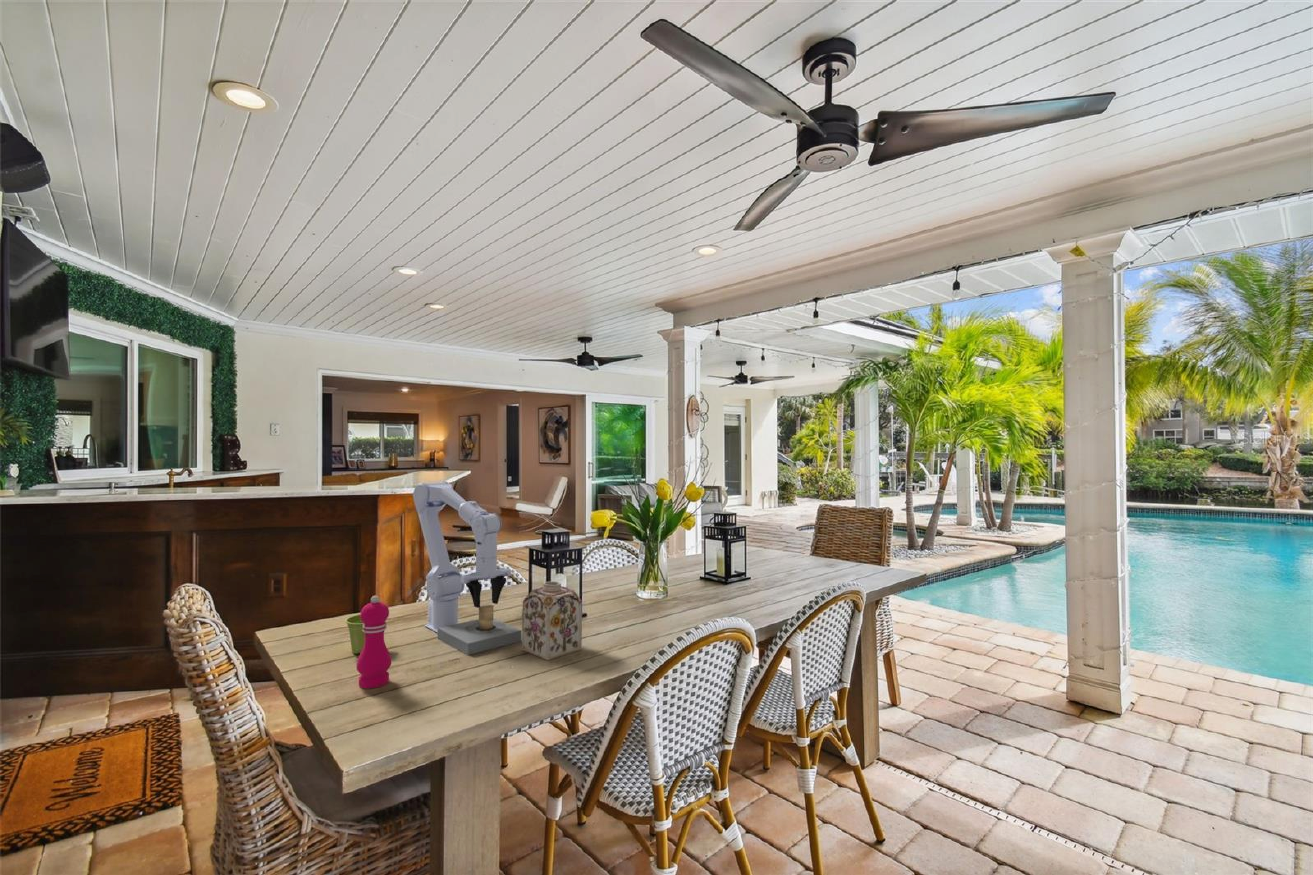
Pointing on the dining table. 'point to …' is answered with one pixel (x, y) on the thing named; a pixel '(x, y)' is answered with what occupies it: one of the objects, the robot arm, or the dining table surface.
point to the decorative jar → (552, 621)
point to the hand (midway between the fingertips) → (486, 605)
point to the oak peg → (485, 618)
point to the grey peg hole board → (478, 636)
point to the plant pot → (356, 633)
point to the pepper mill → (374, 646)
